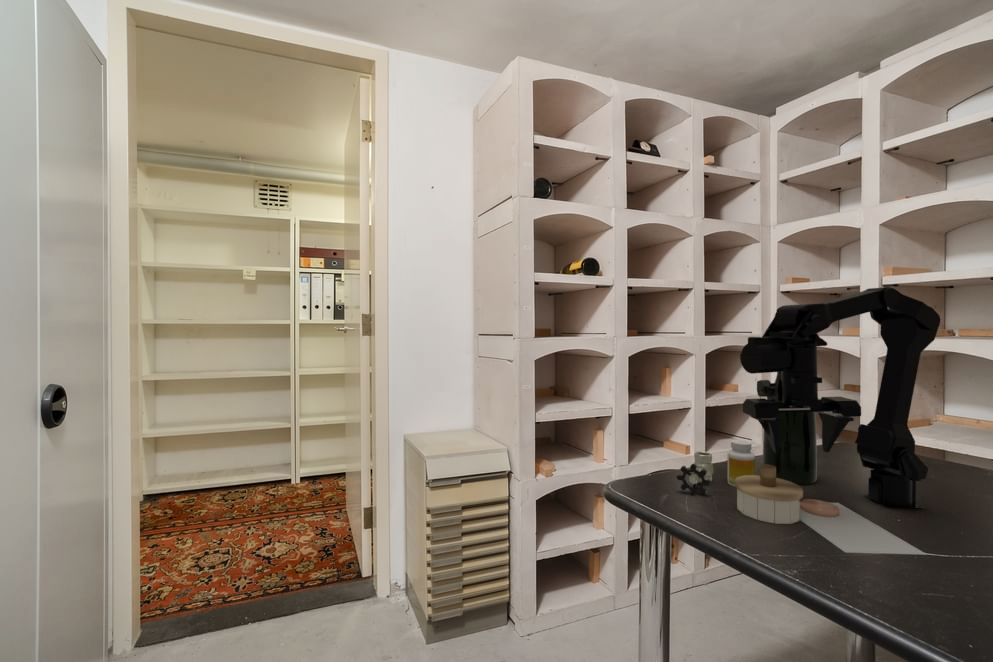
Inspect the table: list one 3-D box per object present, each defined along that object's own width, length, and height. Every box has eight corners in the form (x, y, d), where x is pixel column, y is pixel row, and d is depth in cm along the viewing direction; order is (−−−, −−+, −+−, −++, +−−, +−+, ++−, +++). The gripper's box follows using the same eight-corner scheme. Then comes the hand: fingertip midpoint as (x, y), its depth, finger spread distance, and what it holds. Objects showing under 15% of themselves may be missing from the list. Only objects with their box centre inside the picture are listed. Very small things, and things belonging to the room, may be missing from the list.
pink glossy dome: (826, 504, 89) (826, 499, 89) (846, 518, 83) (846, 512, 83) (793, 503, 89) (794, 498, 89) (812, 516, 83) (812, 511, 83)
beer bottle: (828, 485, 100) (829, 336, 100) (786, 488, 99) (787, 336, 98) (791, 470, 111) (791, 335, 110) (752, 472, 109) (752, 335, 108)
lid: (817, 502, 80) (817, 476, 80) (752, 501, 80) (752, 475, 80) (781, 480, 91) (781, 458, 91) (725, 479, 91) (725, 457, 91)
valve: (690, 476, 107) (676, 492, 97) (690, 449, 107) (676, 462, 97) (720, 482, 103) (709, 499, 93) (720, 453, 103) (710, 467, 93)
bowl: (780, 503, 90) (780, 481, 90) (811, 526, 80) (811, 501, 80) (728, 502, 91) (728, 480, 91) (753, 524, 81) (753, 499, 81)
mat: (838, 504, 90) (838, 502, 90) (927, 557, 70) (927, 554, 70) (775, 503, 90) (775, 501, 90) (845, 554, 70) (845, 552, 70)
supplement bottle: (758, 490, 97) (759, 445, 97) (731, 489, 98) (731, 444, 98) (750, 482, 103) (750, 439, 102) (724, 480, 104) (724, 438, 104)
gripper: (822, 364, 93) (824, 440, 94) (729, 367, 95) (731, 441, 95) (862, 371, 82) (864, 456, 83) (756, 374, 83) (758, 458, 84)
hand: (800, 452), depth 86 cm, fingers open, 9 cm apart
